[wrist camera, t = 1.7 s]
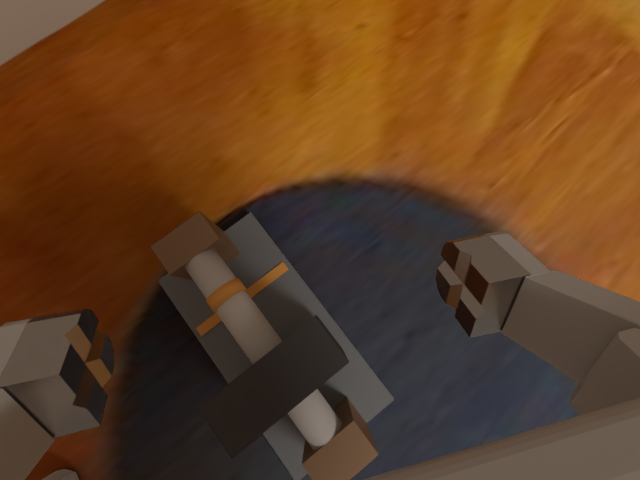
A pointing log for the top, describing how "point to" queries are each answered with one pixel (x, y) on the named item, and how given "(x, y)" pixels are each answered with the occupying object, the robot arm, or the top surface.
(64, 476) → the photo printer
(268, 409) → the collar
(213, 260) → the pipe rig
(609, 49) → the top surface
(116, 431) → the top surface
